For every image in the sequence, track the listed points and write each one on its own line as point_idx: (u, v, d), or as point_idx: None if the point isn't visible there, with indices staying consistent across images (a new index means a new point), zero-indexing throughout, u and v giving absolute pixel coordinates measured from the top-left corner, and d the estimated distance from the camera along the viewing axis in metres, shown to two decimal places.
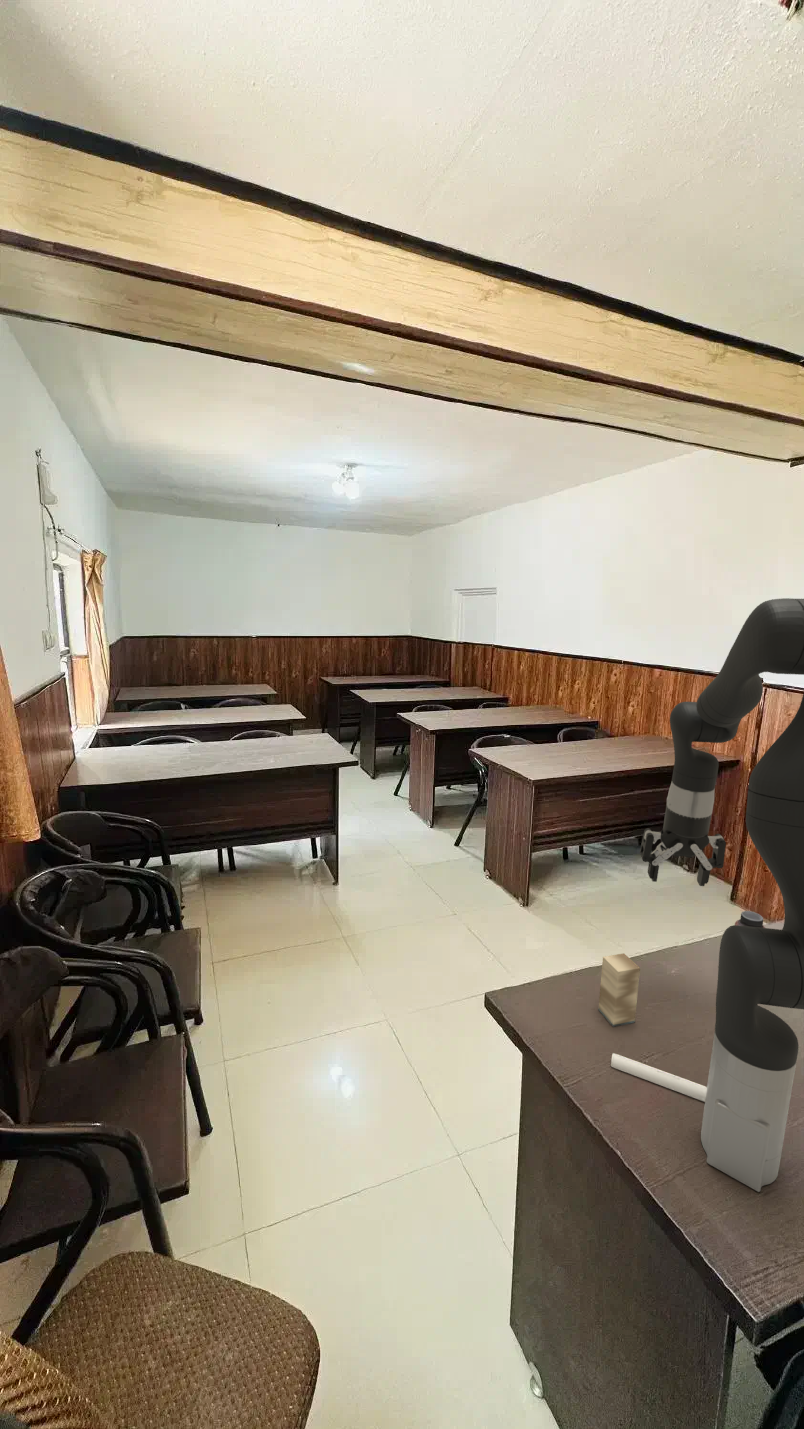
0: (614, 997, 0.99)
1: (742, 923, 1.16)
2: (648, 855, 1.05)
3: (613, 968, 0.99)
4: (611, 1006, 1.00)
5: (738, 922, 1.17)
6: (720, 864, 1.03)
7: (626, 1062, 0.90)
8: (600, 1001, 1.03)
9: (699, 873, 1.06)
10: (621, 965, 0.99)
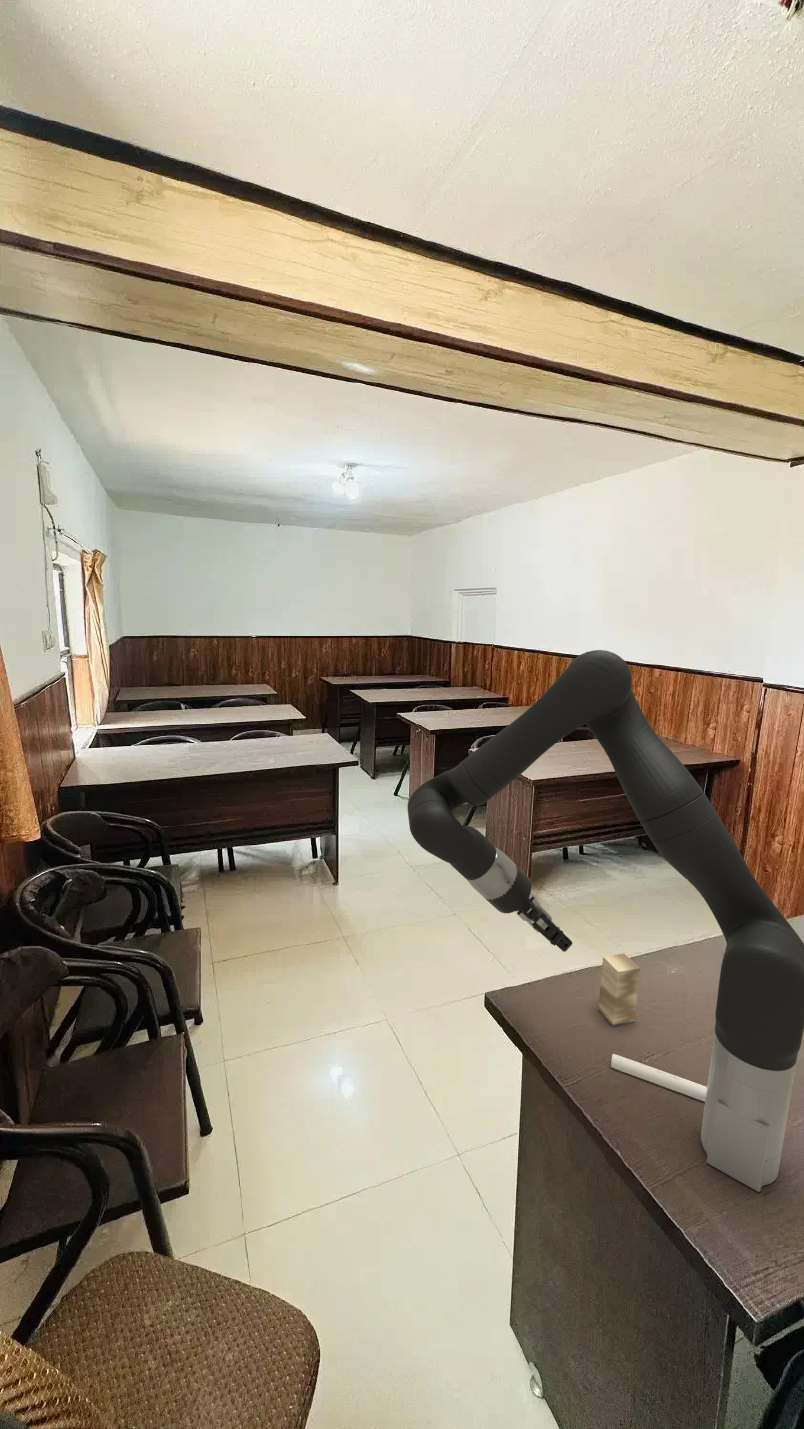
0: (614, 997, 0.99)
1: None
2: (557, 927, 0.88)
3: (613, 968, 0.99)
4: (612, 1006, 1.00)
5: None
6: None
7: (626, 1063, 0.90)
8: (600, 1001, 1.03)
9: None
10: (621, 965, 0.99)
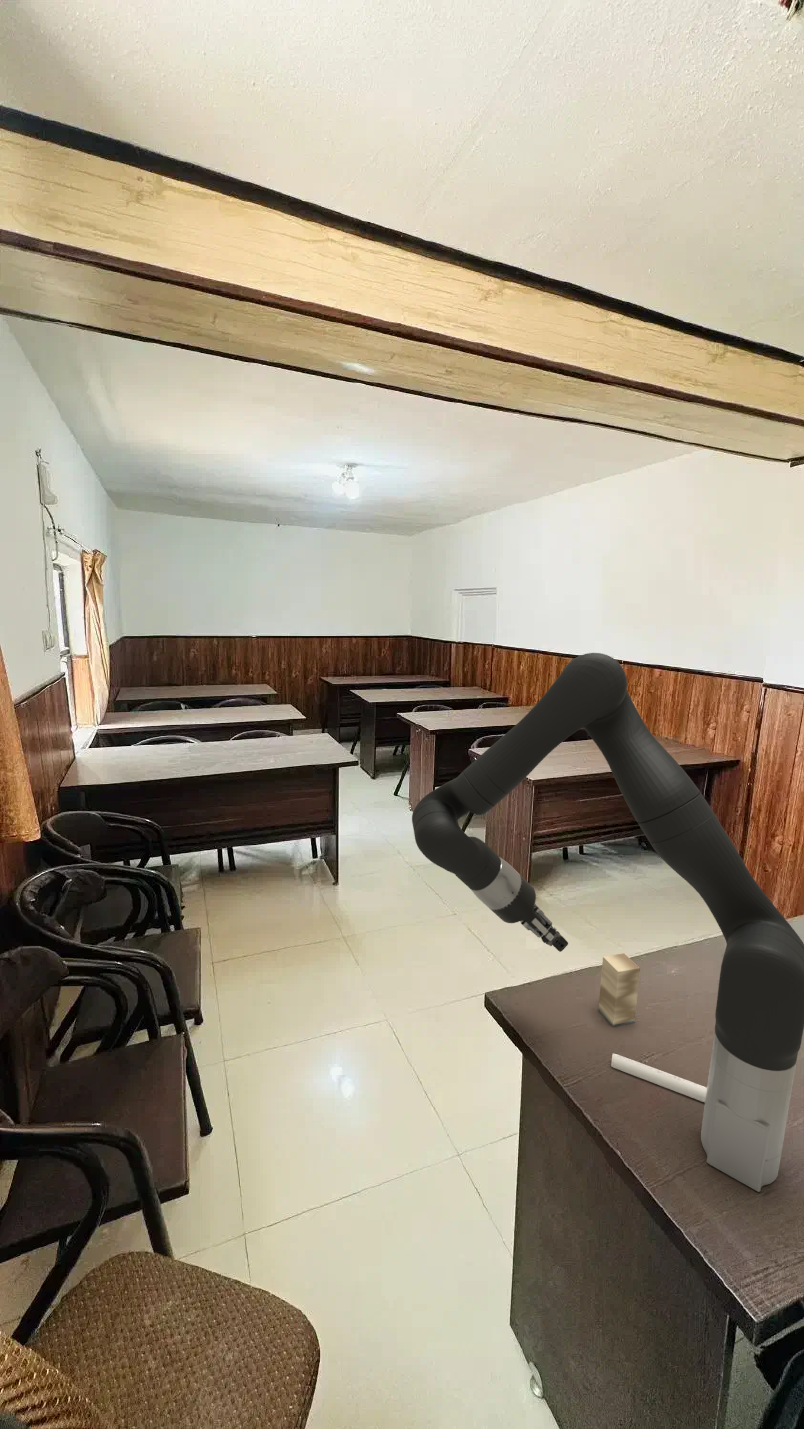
0: (614, 997, 0.99)
1: None
2: (555, 930, 0.92)
3: (613, 968, 0.99)
4: (612, 1006, 1.00)
5: None
6: None
7: (626, 1062, 0.90)
8: (600, 1001, 1.03)
9: None
10: (621, 965, 0.99)
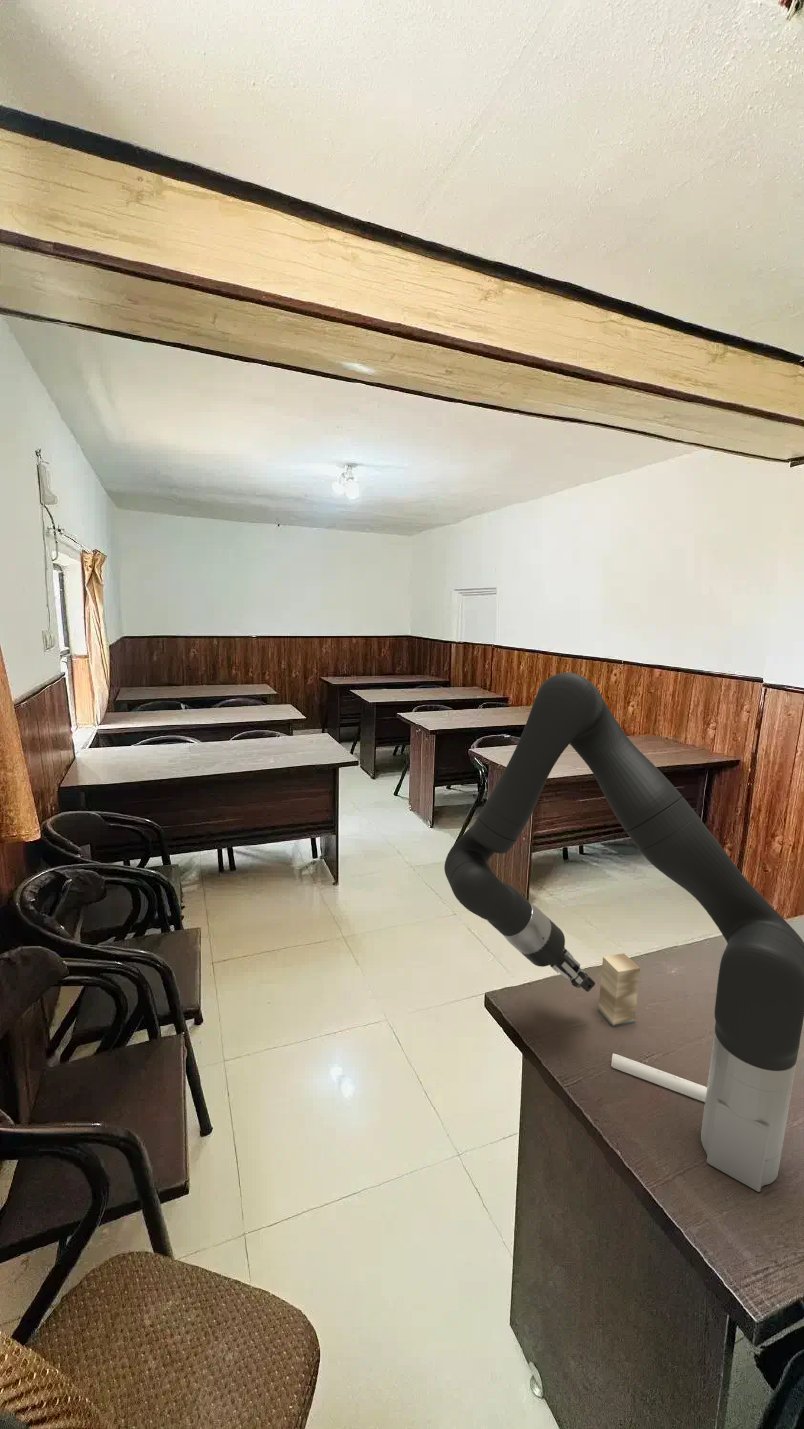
0: (614, 997, 0.99)
1: None
2: (584, 973, 0.95)
3: (613, 968, 0.99)
4: (612, 1006, 1.00)
5: None
6: None
7: (626, 1062, 0.90)
8: (600, 1001, 1.03)
9: None
10: (621, 965, 0.99)
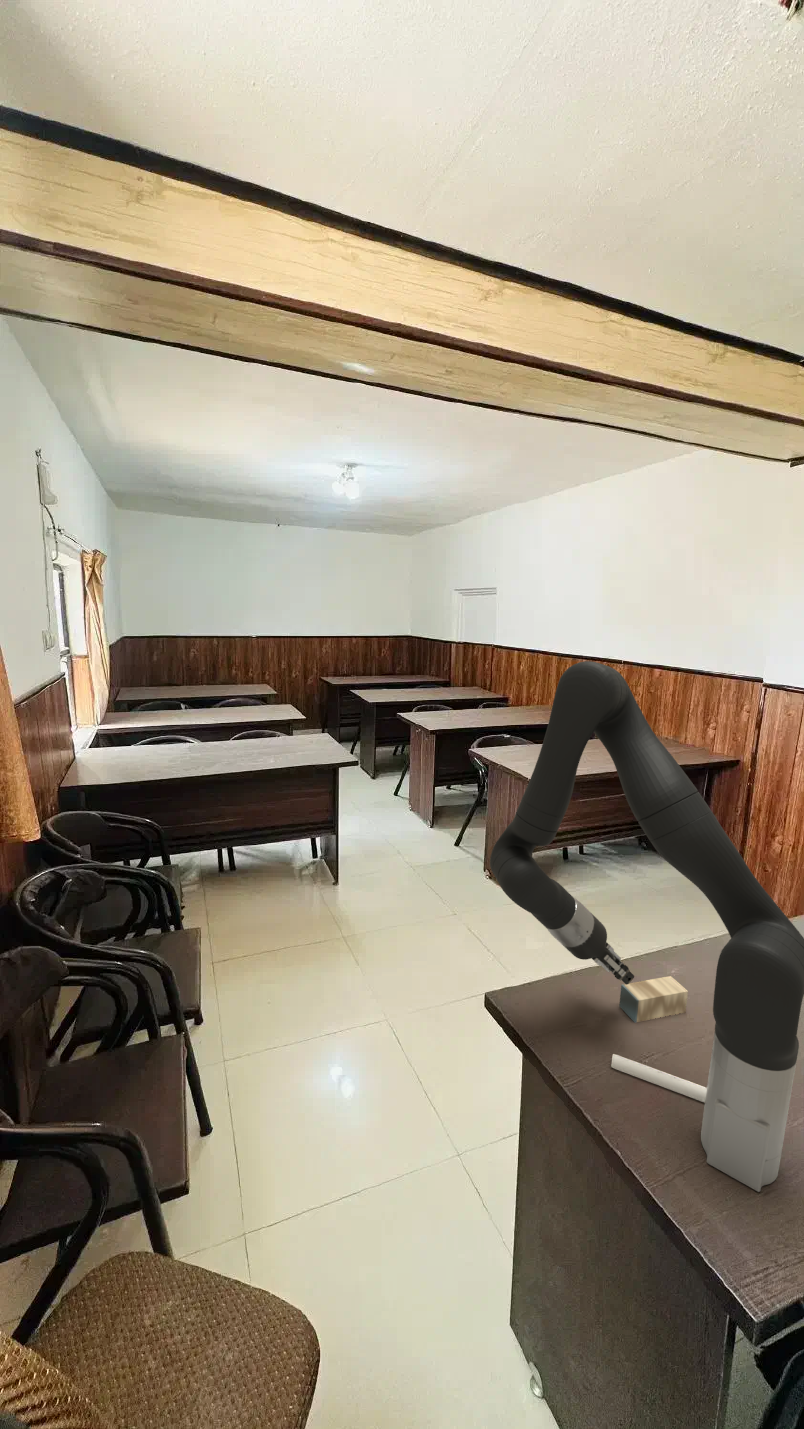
0: (661, 994, 1.02)
1: None
2: None
3: (682, 987, 1.04)
4: (650, 994, 1.02)
5: None
6: None
7: (626, 1063, 0.89)
8: (632, 984, 1.04)
9: None
10: None
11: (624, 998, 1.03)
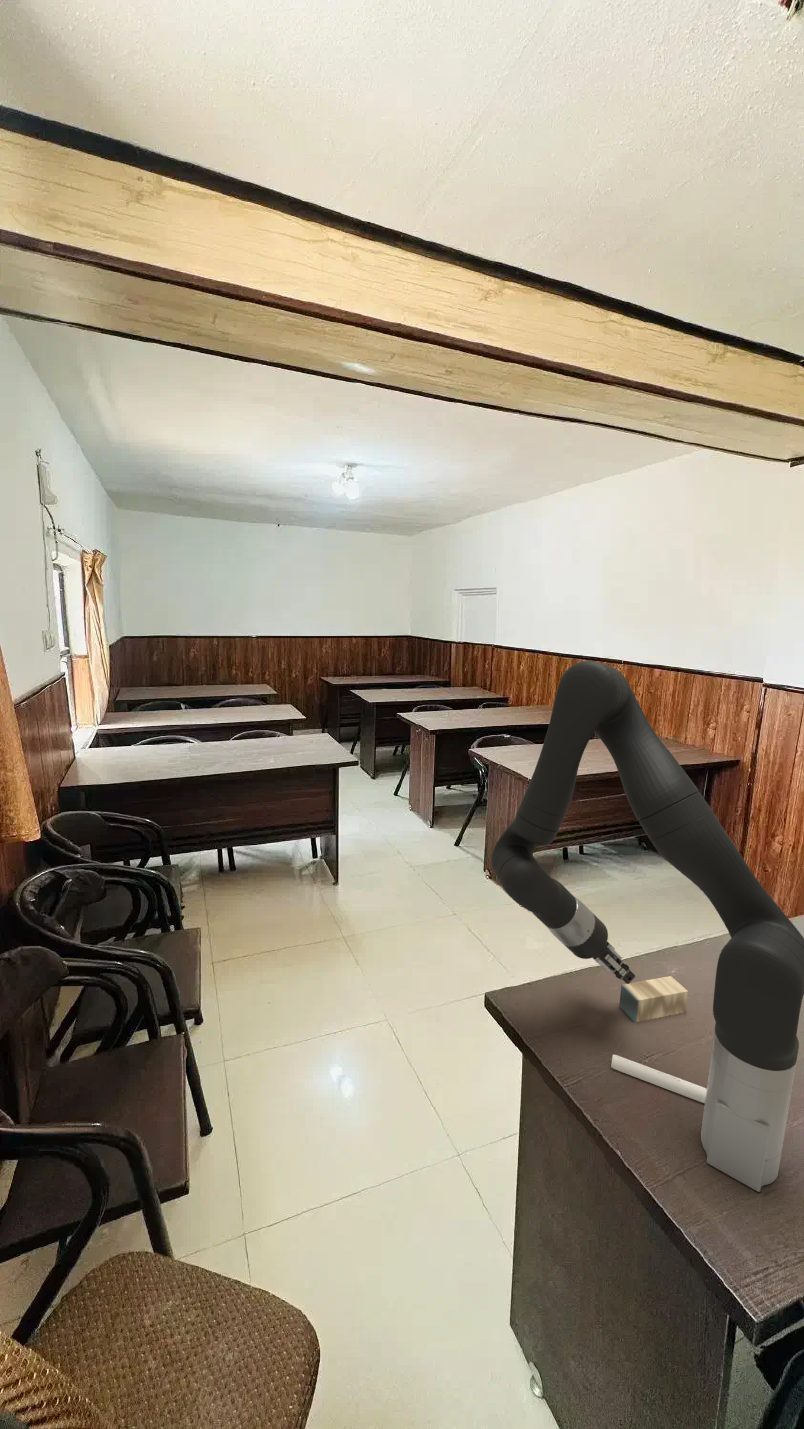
0: (661, 994, 1.02)
1: None
2: None
3: (682, 987, 1.04)
4: (650, 994, 1.02)
5: None
6: None
7: (626, 1063, 0.89)
8: (632, 984, 1.04)
9: None
10: None
11: (624, 998, 1.03)
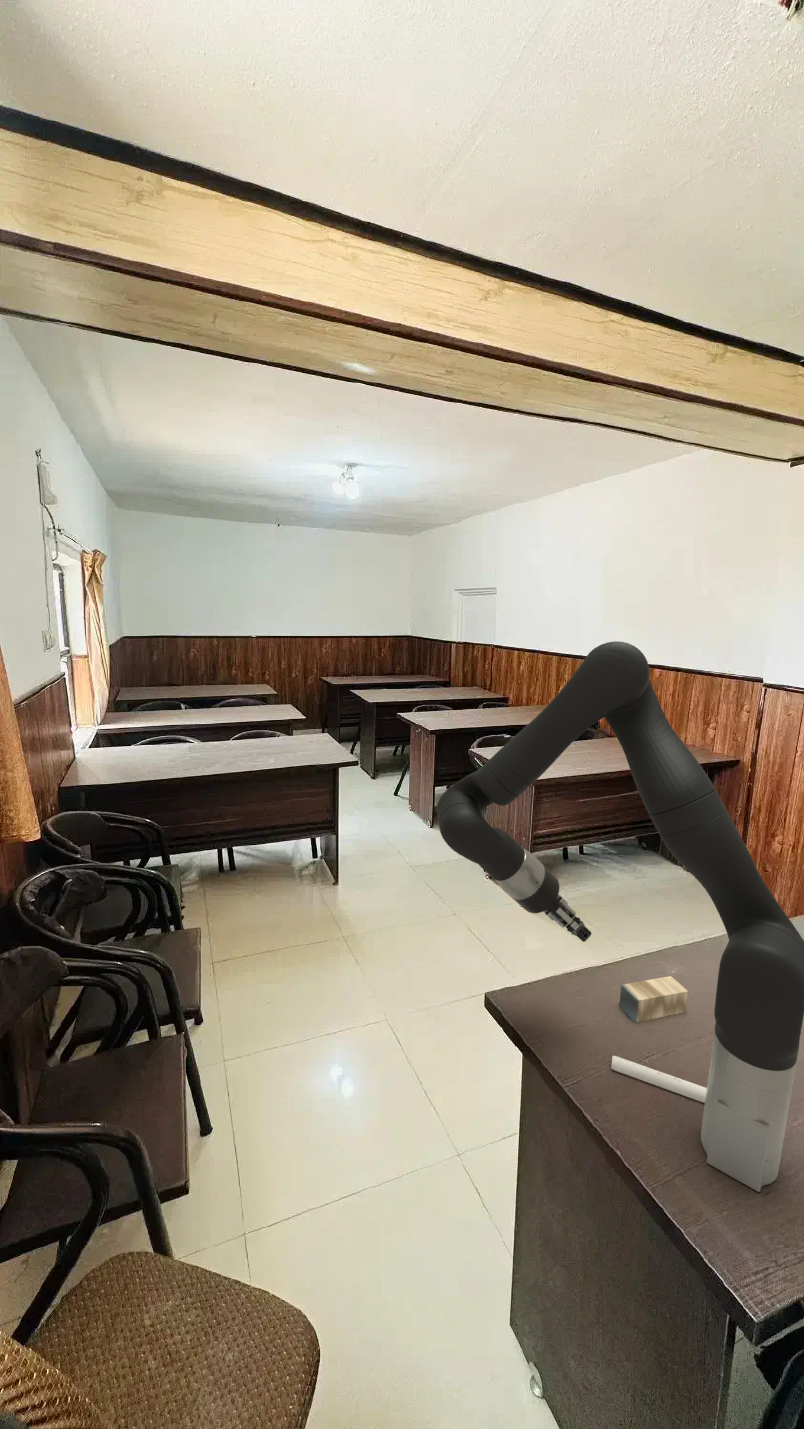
0: (661, 994, 1.02)
1: None
2: None
3: (682, 987, 1.04)
4: (650, 994, 1.02)
5: None
6: None
7: (626, 1064, 0.89)
8: (632, 984, 1.04)
9: None
10: None
11: (624, 998, 1.03)
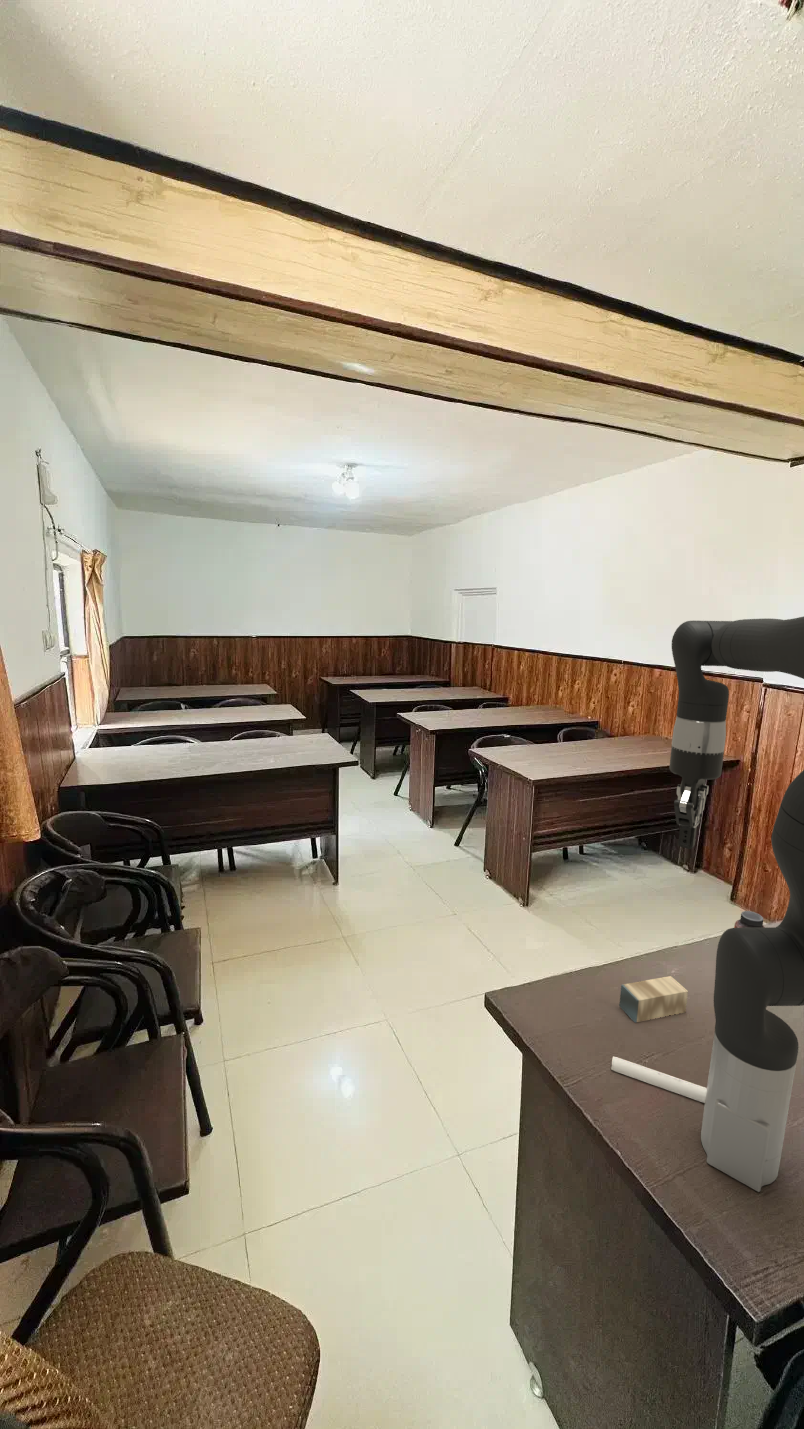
0: (661, 994, 1.02)
1: (742, 923, 1.16)
2: (693, 819, 0.89)
3: (682, 987, 1.04)
4: (650, 994, 1.02)
5: (738, 922, 1.17)
6: (701, 814, 0.93)
7: (626, 1065, 0.89)
8: (632, 984, 1.04)
9: None
10: None
11: (624, 998, 1.03)
